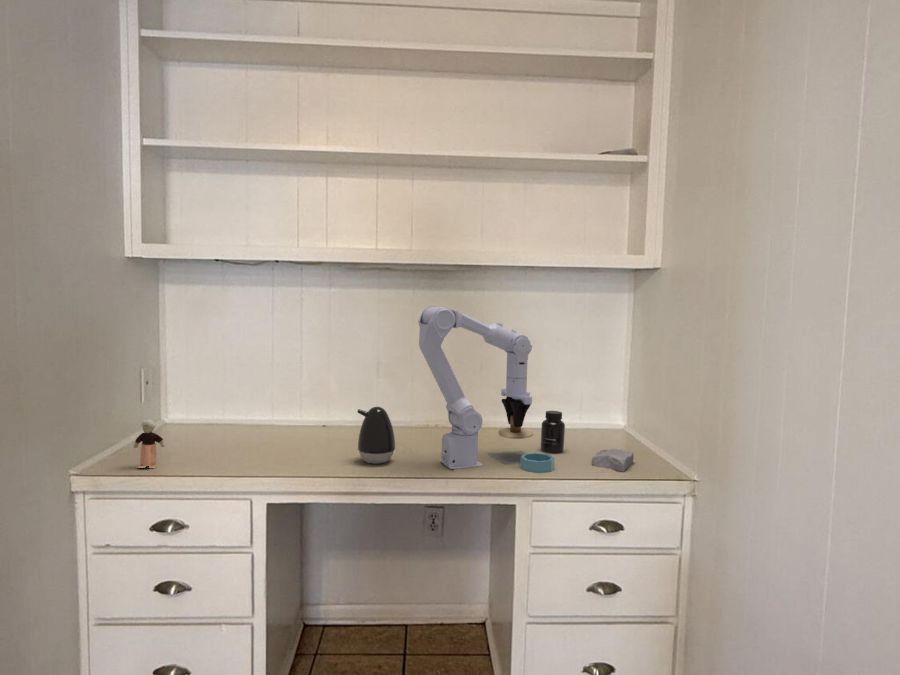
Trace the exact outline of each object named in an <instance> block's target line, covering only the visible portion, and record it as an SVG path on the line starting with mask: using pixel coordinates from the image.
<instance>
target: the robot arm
mask: <svg viewBox="0 0 900 675" xmlns="http://www.w3.org/2000/svg"><path fill="white" fill-rule="evenodd" d="M417 322H418V325H419V326H418V327H419V335H418V338H419V339H418V346H419V347H418V348H419V349H420V352H421V354H422V355H423V357H424V359H425V361H426V364H427V366H428V368H429V370H430V371H431V374H432V376H433V378H434V380H435V382H436V383H437V386H438V388H439V390H440V392H441V394H442V396H443V398H444V399H445V403H446V405H445V408H446V410H447V418H448V422H449V423H450V425H451V432H448V433H444V434H442V438H441V459H440V462H441V463H442V464H443V465H445V466H446V467H447V468H448V469H450V470H455V469H465V468H475V467H483V465H484V464H483V463H482V462H480V461H478V453H479V452H478V450H479V448H478V445H479V444H478V443H479V431H480V429H481V428H482V426H483V417H482V415H481V413H479V412H478V411H477V410H476V409H475V408H474V406H473V404H472V403H471V402H470V401H469V400H468V398H467V397H466V396H465V394H464V391H463V389H462V388H461V387H462V386H461V385H460V383H459V381H458V379H457V377H456V375H455V372H454V371H453V369H452V367H451V364H450V361H449V360H448V359H447V356H446V354H445V352H444V350H443V348H442V345H443V341H444V339H445V337H447V335H448V334H449V333H450V332H451V331H452V329H453V328H454V329H459V328H462V329H464V330H467V331H470V332H472V333H474V334H476V335H477V334H478V335H480V336H482V337H483V340H484V342H485V343H487V344H488V345H491V346H493V347H495V348H498V349H500V350H503V351H504V352H505V353H506V373H505V374H506V376H505V377H506V378H505V388H501V390H500V391H501V393H500V394H501V396H502V397H505V398H501V403H502V405H503V407H504V410H505V414H506V418H507V423H508V425H510V416H511V415H513V419H514V426H515V427H521V428H523V424H524V420H525V418H526V414H527V412H528V410H529V408H530V407H531V405H532V404H533V397H532V396H530V395H531V393H530V392H528V391H527V389H528V388H527V386H528V385H527V384H528V383H527V382H528V381H527V380H528V360H529V354H530V353H531V351H532V349H533V345H532V344H531V339H529V337H528V336H526V335H523V334H518V333H517V330H516V329H515V330H514V329H511V330H510V329H508V328H506V327H504V326H503V323H501V322H496V323H494V322H493V323H490V324H486V323H483V321H480V320H478V319H476V318H474V317H472V316H469V315H468V314H466V313H463V312H461V311H459V310H455V309H451V308H449V307H445V306H444V307H443V306H442V307H438V306H435V305H434V306H433V305H431V306H427V307H425V308H424V309H423V311H422V312H421V314H420V316H419V319H418V321H417Z"/></svg>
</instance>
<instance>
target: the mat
mask: <svg viewBox="0 0 900 675" xmlns="http://www.w3.org/2000/svg"><path fill="white" fill-rule="evenodd" d="M523 454H527V453H526V452H524V451H522V450H515V451H514V450H513V451H505V452H504V451H503V452H495V453H494V452H492V453H487V455H488V456H490V457H491V458H493V459H495V460H497V461H498V462H500V463H502V464H503V465H510V464H511V465H512V464H514V465H515V464H520V457H521V456H522V455H523Z"/></svg>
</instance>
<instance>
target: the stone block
mask: <svg viewBox="0 0 900 675" xmlns="http://www.w3.org/2000/svg"><path fill="white" fill-rule="evenodd" d="M634 456H635V455H634V451H628V450H623V449H619V448H610V449H608V448H607V449H602V450H600V451H598V452H596V453H595V454H594V456H592V458H591V463H592V466H594V467H597V468H602V469H610V470H613V471H615V472H621V473H622V472H623V473H624V472H626V471H627V469H628V468H630V466H631V465H632V464H633V462H634Z"/></svg>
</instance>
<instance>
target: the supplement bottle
mask: <svg viewBox="0 0 900 675" xmlns="http://www.w3.org/2000/svg"><path fill="white" fill-rule="evenodd" d="M544 417H545V419H544V420H543V421H542V422H541V430H540V431H541V432H540V434H541V435H540V452H542V453H544V454H549V455H555V454H556V455H557V454H562V453H564V450H565V435H566V434H565V432H566V430H565V429H566V425H565V423H564V421H563V412H562V411H558V410H546V411H545V416H544Z"/></svg>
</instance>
